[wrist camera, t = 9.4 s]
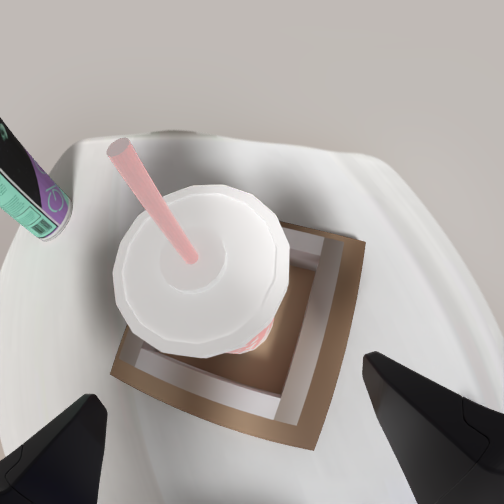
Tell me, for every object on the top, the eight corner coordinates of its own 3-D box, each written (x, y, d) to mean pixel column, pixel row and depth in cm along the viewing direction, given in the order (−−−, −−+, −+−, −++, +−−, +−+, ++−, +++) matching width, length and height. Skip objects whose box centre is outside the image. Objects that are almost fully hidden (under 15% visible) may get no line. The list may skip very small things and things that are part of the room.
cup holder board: (362, 248, 19) (375, 223, 16) (312, 446, 14) (319, 462, 11) (185, 207, 22) (171, 181, 19) (117, 374, 17) (88, 371, 14)
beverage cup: (186, 277, 18) (53, 109, 6) (278, 264, 18) (264, 46, 5) (192, 370, 16) (-19, 325, 3) (293, 359, 15) (349, 293, 3)
